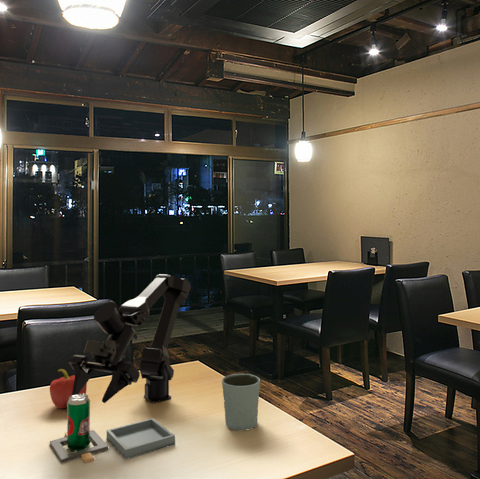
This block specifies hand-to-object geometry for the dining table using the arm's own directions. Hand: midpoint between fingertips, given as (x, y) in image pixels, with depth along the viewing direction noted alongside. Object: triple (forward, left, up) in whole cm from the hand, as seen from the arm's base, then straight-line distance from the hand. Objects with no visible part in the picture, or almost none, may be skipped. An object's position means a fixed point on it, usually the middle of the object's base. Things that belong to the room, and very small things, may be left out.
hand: (87, 399), depth 109 cm
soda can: (+3, +2, -11) cm, 11 cm away
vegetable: (-2, -26, -11) cm, 28 cm away
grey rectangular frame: (+3, +2, -10) cm, 11 cm away
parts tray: (-10, +8, -10) cm, 16 cm away
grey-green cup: (-36, +14, -11) cm, 40 cm away
